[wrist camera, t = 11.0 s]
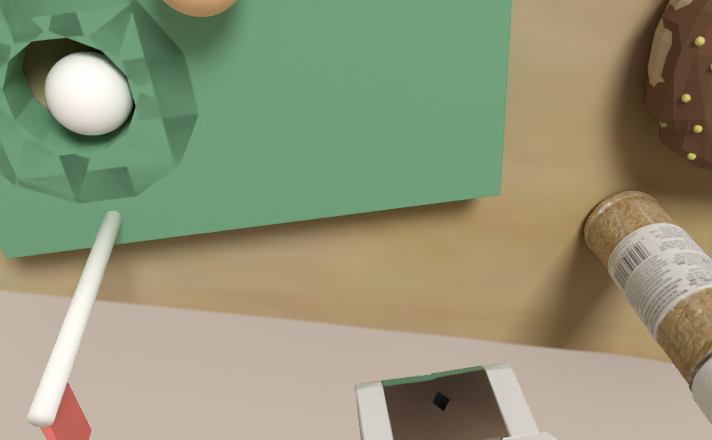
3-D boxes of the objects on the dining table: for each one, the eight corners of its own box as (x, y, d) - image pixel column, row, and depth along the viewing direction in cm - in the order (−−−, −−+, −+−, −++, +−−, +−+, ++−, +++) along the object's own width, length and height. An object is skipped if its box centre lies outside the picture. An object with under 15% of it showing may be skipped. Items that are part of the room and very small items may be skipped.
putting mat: (-129, -97, 24) (-498, 12, 12) (500, -161, 25) (696, -115, 13) (34, 254, 33) (-89, 502, 22) (484, 197, 34) (592, 402, 23)
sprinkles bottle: (615, 263, 38) (755, 456, 27) (564, 231, 36) (693, 424, 25) (675, 209, 36) (851, 393, 25) (624, 172, 35) (792, 353, 24)
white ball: (122, 33, 28) (39, 48, 27) (115, 61, 25) (23, 77, 24) (145, 107, 30) (68, 121, 29) (142, 140, 27) (57, 157, 26)
